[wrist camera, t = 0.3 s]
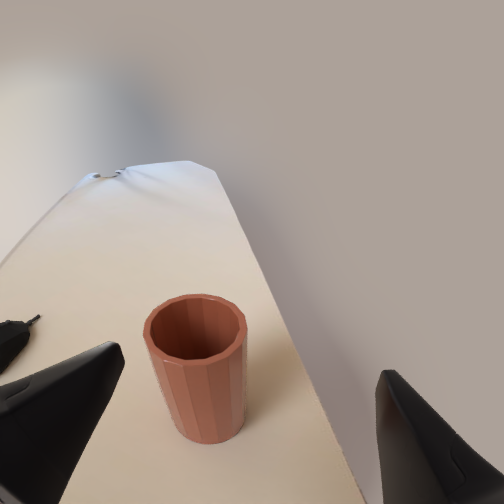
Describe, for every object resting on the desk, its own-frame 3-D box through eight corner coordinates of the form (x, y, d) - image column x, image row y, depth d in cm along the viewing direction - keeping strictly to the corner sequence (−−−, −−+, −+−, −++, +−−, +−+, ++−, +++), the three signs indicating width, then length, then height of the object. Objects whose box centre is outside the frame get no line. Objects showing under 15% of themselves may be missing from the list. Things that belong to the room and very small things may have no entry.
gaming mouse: (51, 323, 34) (41, 300, 32) (-14, 390, 21) (-30, 369, 19) (29, 310, 35) (19, 289, 33) (-32, 369, 23) (-46, 348, 21)
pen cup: (234, 452, 22) (229, 377, 16) (161, 431, 23) (124, 347, 17) (252, 393, 28) (257, 302, 22) (187, 378, 29) (170, 286, 23)
